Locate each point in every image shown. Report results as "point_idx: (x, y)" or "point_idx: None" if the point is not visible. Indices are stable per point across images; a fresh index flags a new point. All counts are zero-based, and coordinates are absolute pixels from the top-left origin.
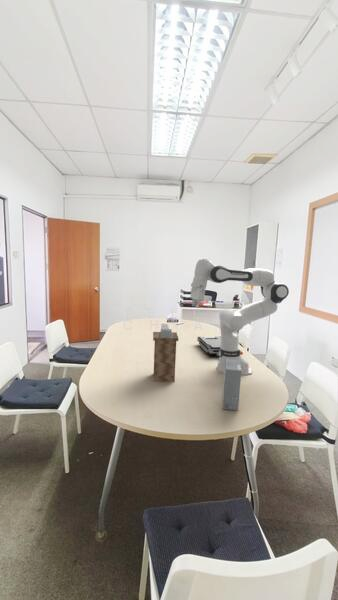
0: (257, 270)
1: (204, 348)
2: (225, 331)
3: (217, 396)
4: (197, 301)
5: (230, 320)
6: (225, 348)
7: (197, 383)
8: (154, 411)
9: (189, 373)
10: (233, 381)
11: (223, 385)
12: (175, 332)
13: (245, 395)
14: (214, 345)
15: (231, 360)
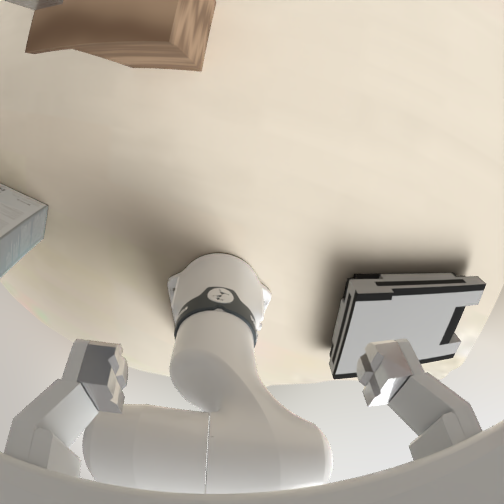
0: None
1: (410, 276)
2: (214, 387)
3: (39, 187)
4: (10, 430)
5: (90, 437)
6: (185, 324)
7: (112, 146)
8: (3, 26)
9: (198, 136)
10: None
11: (14, 210)
12: (166, 33)
13: (51, 262)
14: (374, 314)
15: None
